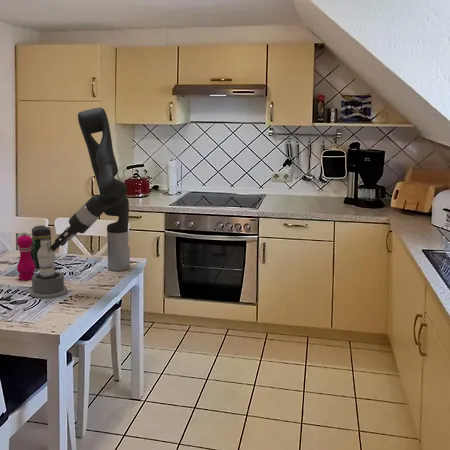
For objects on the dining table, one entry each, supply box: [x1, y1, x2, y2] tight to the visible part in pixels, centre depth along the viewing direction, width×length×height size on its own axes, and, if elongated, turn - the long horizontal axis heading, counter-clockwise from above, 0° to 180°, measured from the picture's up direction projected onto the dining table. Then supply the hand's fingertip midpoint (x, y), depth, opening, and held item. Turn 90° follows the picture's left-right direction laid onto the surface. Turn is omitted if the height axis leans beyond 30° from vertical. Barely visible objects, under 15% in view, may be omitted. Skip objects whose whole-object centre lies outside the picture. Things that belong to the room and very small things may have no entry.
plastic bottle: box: [37, 238, 56, 279], centre depth 209 cm, size 6×7×20 cm
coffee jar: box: [31, 225, 52, 269], centre depth 246 cm, size 10×8×19 cm
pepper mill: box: [16, 231, 36, 281], centre depth 228 cm, size 7×7×20 cm
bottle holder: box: [28, 271, 68, 299], centre depth 212 cm, size 14×14×7 cm
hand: (56, 246), depth 209 cm, fingers open, 8 cm apart
